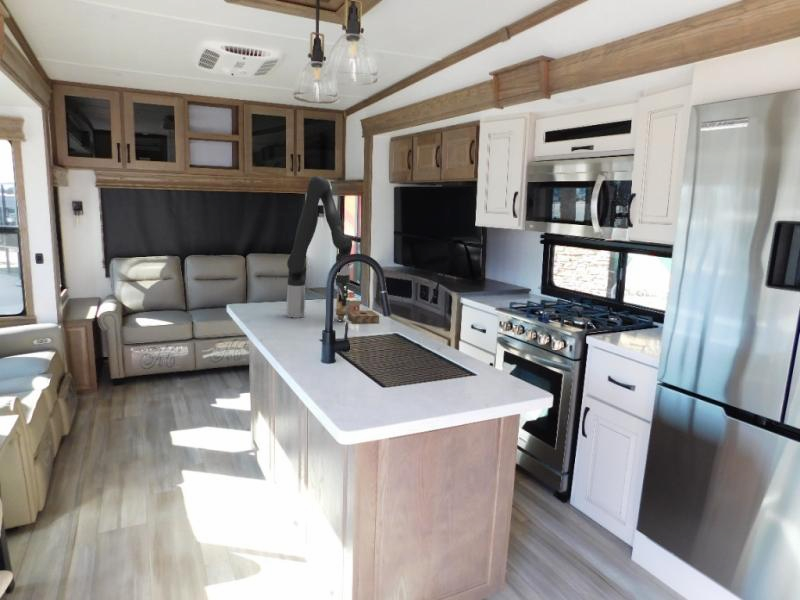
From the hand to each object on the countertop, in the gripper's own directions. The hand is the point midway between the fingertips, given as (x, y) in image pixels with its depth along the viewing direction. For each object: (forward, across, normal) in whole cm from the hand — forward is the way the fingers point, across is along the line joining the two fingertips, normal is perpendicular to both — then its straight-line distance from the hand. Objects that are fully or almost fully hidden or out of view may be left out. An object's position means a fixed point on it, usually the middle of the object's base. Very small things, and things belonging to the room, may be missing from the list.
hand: (342, 304), depth 287 cm
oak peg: (+9, 0, -1) cm, 9 cm away
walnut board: (+9, 0, +11) cm, 14 cm away
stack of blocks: (+9, -20, +8) cm, 24 cm away
